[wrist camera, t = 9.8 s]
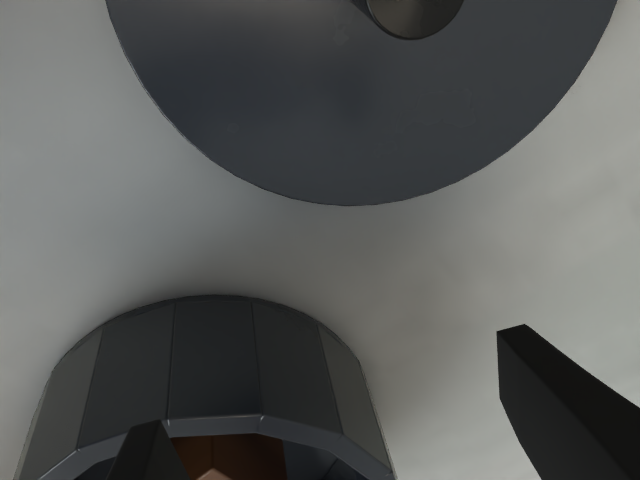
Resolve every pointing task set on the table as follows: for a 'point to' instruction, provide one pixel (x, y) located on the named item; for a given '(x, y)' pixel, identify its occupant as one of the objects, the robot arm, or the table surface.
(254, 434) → the block
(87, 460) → the pot
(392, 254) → the table surface
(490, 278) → the table surface
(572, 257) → the table surface
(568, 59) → the lid
